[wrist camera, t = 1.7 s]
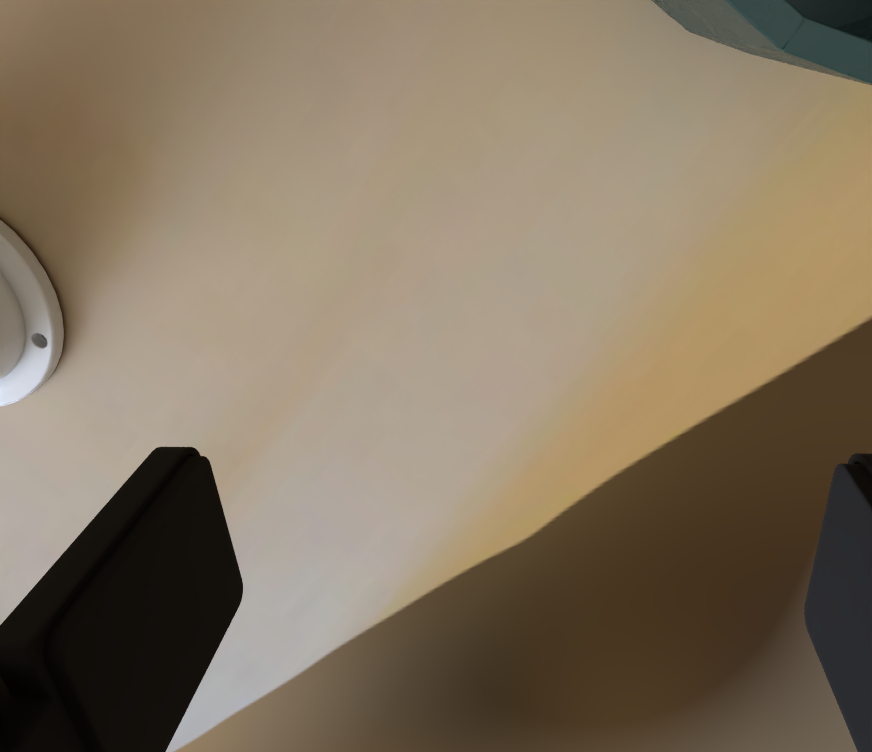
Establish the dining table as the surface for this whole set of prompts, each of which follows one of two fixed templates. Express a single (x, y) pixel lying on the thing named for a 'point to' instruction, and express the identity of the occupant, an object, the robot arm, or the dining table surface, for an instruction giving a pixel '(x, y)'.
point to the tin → (787, 31)
